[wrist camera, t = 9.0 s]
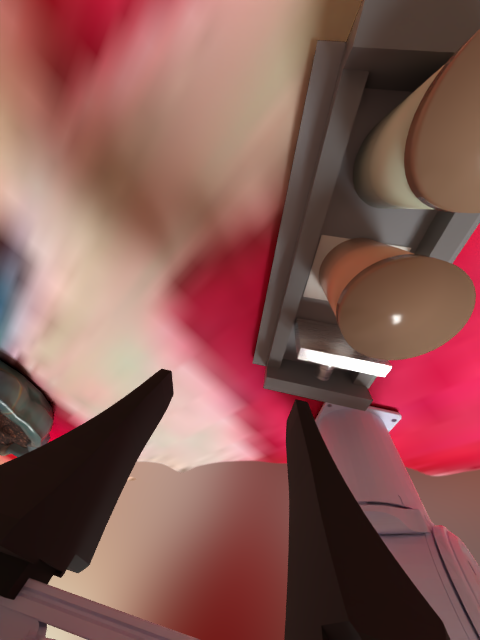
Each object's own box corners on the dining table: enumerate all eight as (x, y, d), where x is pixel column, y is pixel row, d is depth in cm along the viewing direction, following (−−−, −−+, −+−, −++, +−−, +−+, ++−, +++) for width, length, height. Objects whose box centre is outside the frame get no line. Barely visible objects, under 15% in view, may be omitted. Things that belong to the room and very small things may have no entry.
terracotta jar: (370, 308, 16) (425, 370, 10) (308, 295, 16) (324, 346, 10) (406, 243, 13) (511, 273, 7) (332, 229, 14) (371, 247, 8)
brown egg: (418, 215, 13) (547, 222, 7) (338, 205, 13) (388, 202, 7) (475, 105, 10) (775, -52, 4) (373, 97, 10) (500, -55, 4)
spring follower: (349, 364, 19) (366, 403, 15) (286, 351, 19) (287, 386, 16) (367, 330, 17) (392, 366, 13) (296, 317, 17) (301, 348, 14)
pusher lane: (365, 382, 21) (381, 414, 17) (253, 358, 22) (248, 384, 19) (569, 66, 9) (719, -8, 6) (315, 51, 11) (330, -18, 7)
